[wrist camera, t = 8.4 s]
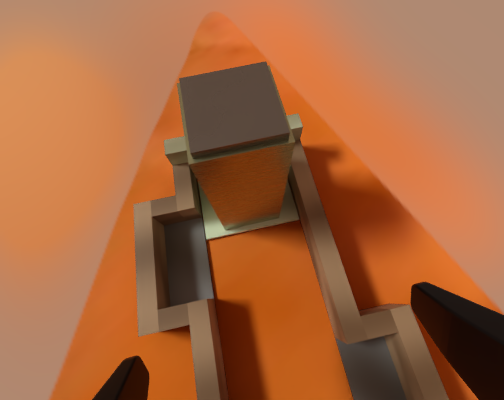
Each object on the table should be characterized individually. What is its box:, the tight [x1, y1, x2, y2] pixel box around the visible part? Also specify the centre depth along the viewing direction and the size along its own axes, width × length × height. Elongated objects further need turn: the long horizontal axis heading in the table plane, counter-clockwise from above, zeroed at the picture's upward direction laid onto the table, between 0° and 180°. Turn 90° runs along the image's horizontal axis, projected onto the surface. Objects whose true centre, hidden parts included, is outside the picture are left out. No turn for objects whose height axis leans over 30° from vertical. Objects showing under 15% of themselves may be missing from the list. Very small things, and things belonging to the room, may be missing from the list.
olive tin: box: [177, 62, 295, 230], centre depth 15 cm, size 4×4×10 cm
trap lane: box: [134, 114, 449, 400], centre depth 15 cm, size 22×16×4 cm
